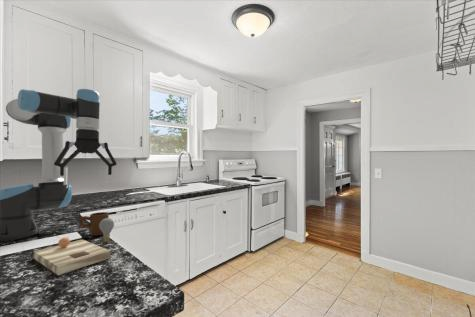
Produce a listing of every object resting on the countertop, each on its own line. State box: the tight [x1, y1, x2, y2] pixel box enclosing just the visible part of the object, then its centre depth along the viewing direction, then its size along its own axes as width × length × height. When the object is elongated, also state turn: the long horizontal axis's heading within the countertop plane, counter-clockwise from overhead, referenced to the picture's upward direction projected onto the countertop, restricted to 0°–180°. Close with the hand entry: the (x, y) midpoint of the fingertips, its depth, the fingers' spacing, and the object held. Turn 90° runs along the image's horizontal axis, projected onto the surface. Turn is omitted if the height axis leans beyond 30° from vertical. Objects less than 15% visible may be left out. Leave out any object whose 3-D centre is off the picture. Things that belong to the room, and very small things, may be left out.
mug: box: [78, 211, 109, 237], centre depth 106 cm, size 12×8×9 cm, turn 131°
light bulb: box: [99, 218, 115, 243], centre depth 95 cm, size 5×6×10 cm
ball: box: [57, 236, 71, 247], centre depth 83 cm, size 3×3×3 cm
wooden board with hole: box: [33, 239, 111, 276], centre depth 79 cm, size 22×15×2 cm
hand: (87, 184), depth 89 cm, fingers open, 13 cm apart
